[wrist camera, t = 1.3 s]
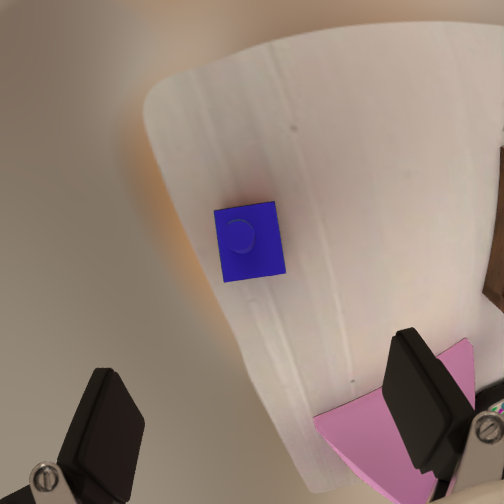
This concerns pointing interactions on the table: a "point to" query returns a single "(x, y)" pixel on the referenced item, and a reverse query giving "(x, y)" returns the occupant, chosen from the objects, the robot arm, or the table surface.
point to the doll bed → (497, 251)
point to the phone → (491, 400)
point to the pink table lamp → (388, 435)
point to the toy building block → (249, 241)
